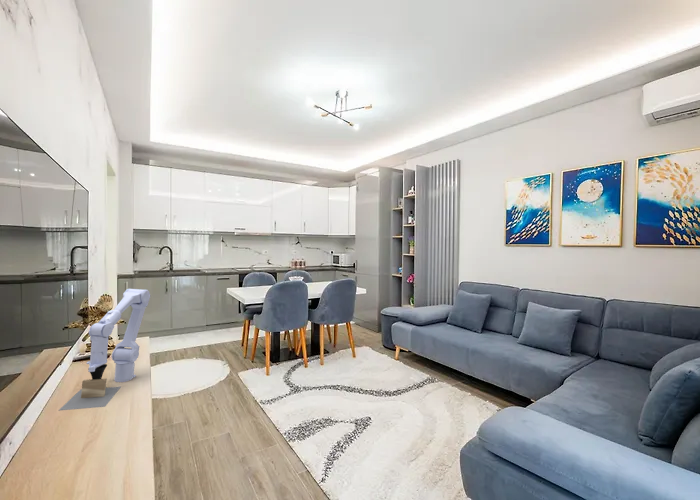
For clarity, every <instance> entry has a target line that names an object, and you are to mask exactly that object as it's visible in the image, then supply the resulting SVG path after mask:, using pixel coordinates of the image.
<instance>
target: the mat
mask: <svg viewBox="0 0 700 500" xmlns="http://www.w3.org/2000/svg"><path fill="white" fill-rule="evenodd" d="M120 389H121V386H111V387H106V393H105V396H104V397H90V398H81V392H82V388H81V389H80V390H78V391H77V392H76V393H75V394H74V395H73V396H72V397H71V398H70V399H68V401H67V402H66V403H65V404H63V406H61V407H60V408H59V409H58V411H70V410H81V409H94V408H105V407H107V405H108V403H110V401H111V400H112V399H113V397H114V396H115V395H116V394H117V392H118V391H119V390H120Z"/></svg>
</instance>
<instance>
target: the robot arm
mask: <svg viewBox="0 0 700 500" xmlns="http://www.w3.org/2000/svg"><path fill="white" fill-rule="evenodd" d="M150 299H151V293H150V291H149V290H148V289H140V288H139V289H138V288H127V289H125V291H124V292H123V294H122V298H121V300H120V301H119V302H118V304H117V305H116V306H115V308H114V309H112V310H108V311H107V312H106V314H105V315H104V316H103V317H102V318H101V319H100V320H99V321H98V322H96V323H94V324H91V326H90V327H89V330H88V336H89V340H90V341H91V342H90V343H91V346H90V358H89V359H90V360H89V361H87V362H86V365H88V368H87V369H88V373H90V376H91V379H103V376H104V375H103V374H104V372H105V370H106V368H107V366H108V364H107V363H108V349H109V348H108V345H109V336H111V335H112V333H113V330H114V328H115V325H116V324H117V323H118V322H119V321H120V320H121V318H122V314H123V312H124V311H126V310H127V309H128V308H129V307H130V306H131V309H132V310H131V313H130V317H129V320H128V323H127V326H126V330H125V332H124V335H123V338H122V341H119V343H117V344H116V345H115V348H114V350H112V353H111V359H112V361H113V362H114V364H115V368H114V369H115V370H114V380H113V381H114V382H116V383H124V382H125V383H126V382H129V381H132V379H133V378H136V376H137V374H135V365H136V364H135V362H136V361H137V359H138V358H139V355H140V345H139V344H138V343H137V342H136V341H137V338H138V334H139V331H140V328H141V324H142V321H143V317H144V314H145V311H146V308H148V307H149V306H148V305H149V302H150Z"/></svg>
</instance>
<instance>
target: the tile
mask: <svg viewBox="0 0 700 500" xmlns="http://www.w3.org/2000/svg"><path fill="white" fill-rule="evenodd" d="M106 388H107V378H101V379H92V378H91V379H83V380H82V381H81V389H82V392H81V398H90V397H104V396H105V393H106Z"/></svg>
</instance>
